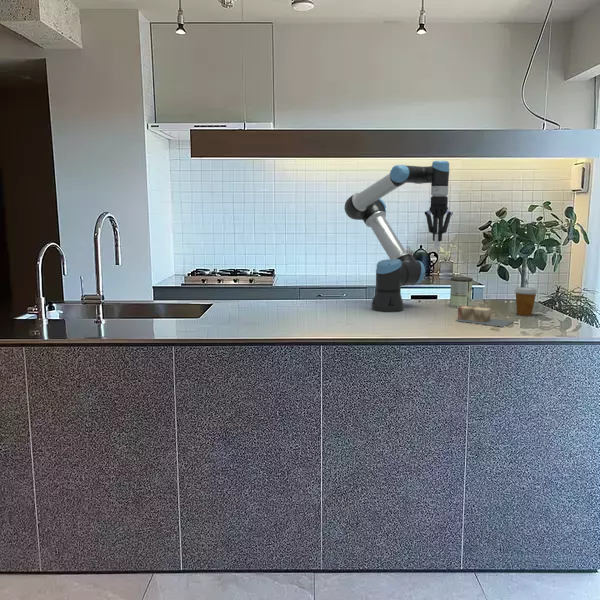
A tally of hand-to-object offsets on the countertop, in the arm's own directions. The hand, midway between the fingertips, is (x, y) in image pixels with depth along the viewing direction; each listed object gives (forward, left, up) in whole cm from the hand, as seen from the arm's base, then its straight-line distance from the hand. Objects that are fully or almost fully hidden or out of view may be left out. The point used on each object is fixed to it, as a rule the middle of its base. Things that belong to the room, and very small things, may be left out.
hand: (436, 248), depth 257 cm
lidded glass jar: (+4, +22, -30) cm, 37 cm away
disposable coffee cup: (+35, +20, -30) cm, 50 cm away
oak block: (+16, -9, -27) cm, 32 cm away
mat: (+27, -9, -29) cm, 41 cm away
